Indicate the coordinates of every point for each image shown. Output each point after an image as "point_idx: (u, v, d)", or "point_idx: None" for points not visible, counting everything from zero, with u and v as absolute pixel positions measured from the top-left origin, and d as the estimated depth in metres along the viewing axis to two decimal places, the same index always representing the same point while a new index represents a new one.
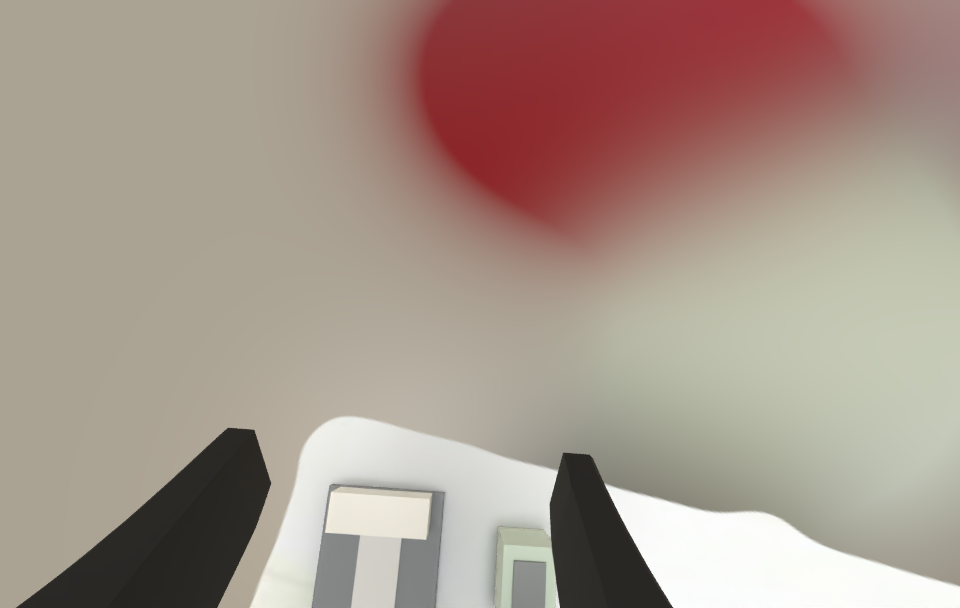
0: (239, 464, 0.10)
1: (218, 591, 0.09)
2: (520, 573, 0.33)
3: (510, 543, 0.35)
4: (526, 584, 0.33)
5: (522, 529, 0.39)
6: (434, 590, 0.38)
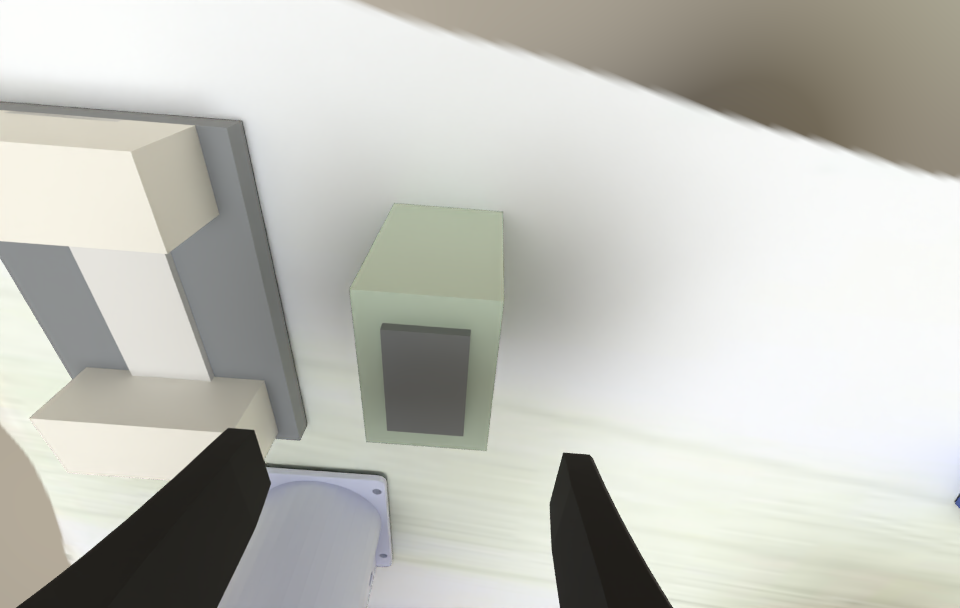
0: (239, 464, 0.10)
1: (218, 591, 0.09)
2: (399, 353, 0.12)
3: (374, 281, 0.12)
4: (417, 373, 0.13)
5: (449, 212, 0.16)
6: (268, 319, 0.18)
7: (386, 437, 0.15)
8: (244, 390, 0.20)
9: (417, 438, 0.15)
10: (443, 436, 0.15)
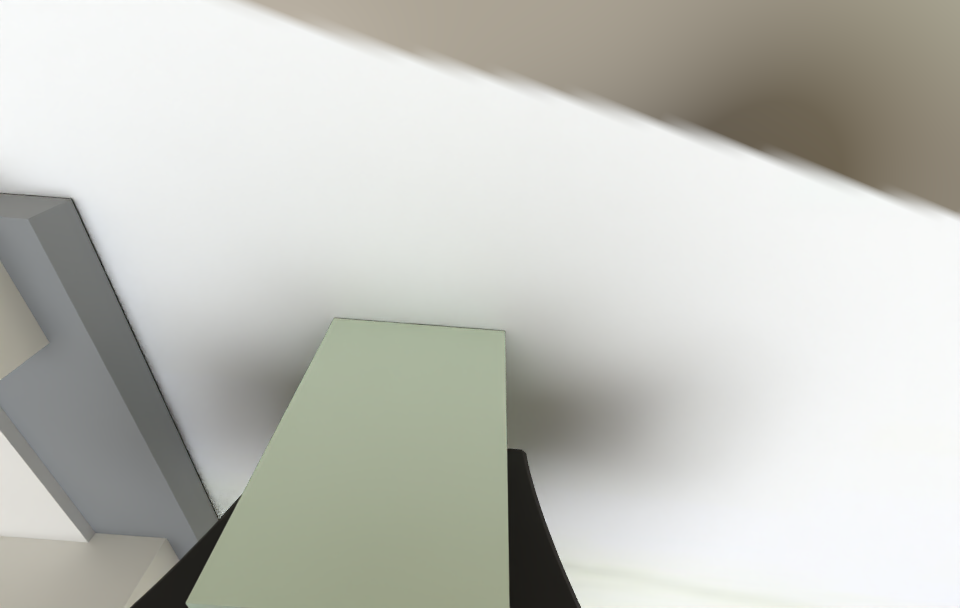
0: None
1: None
2: None
3: (248, 563, 0.06)
4: None
5: (419, 338, 0.10)
6: (157, 472, 0.12)
7: None
8: (133, 559, 0.14)
9: None
10: None
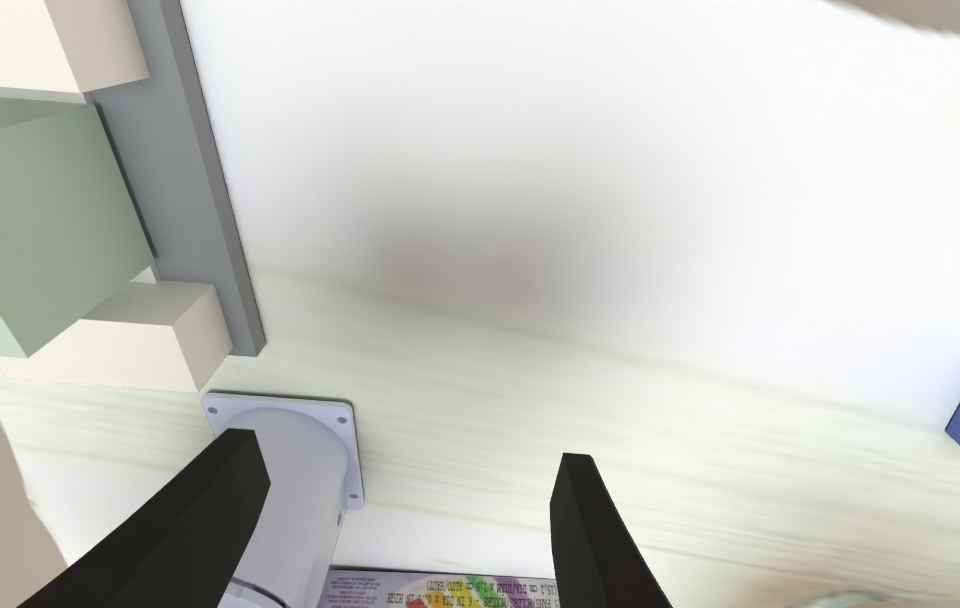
0: (239, 464, 0.10)
1: (218, 591, 0.09)
2: None
3: None
4: None
5: (22, 103, 0.15)
6: (213, 208, 0.17)
7: None
8: (191, 291, 0.19)
9: None
10: None
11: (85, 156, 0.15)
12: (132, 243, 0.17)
